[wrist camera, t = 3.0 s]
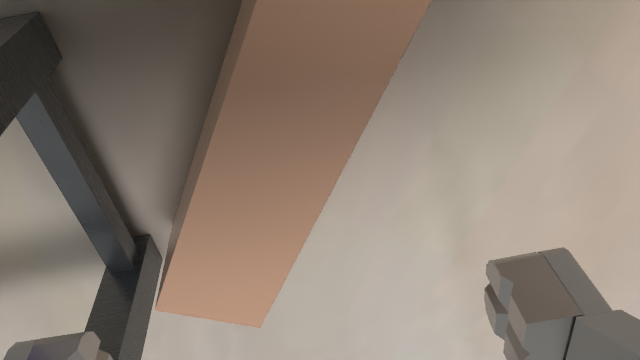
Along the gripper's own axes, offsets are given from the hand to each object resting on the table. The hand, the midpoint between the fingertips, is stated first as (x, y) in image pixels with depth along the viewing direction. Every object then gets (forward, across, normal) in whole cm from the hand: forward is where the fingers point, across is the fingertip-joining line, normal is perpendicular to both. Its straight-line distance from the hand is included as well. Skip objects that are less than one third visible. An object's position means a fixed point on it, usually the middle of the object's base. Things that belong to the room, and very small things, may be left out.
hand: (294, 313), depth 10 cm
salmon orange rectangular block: (+10, 0, -1) cm, 11 cm away
